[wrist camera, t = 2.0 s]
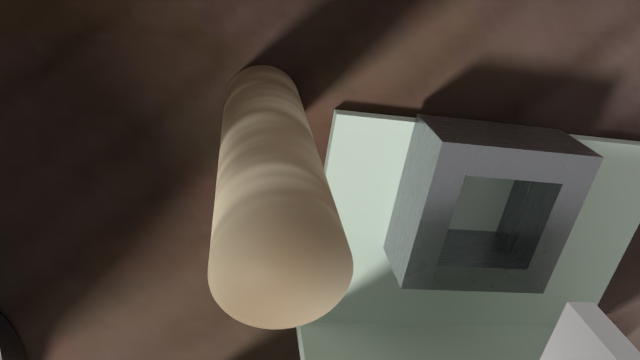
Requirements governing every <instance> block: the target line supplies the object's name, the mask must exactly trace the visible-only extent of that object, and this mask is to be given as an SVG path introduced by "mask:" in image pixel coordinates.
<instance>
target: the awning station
mask: <svg viewBox="0 0 640 360" xmlns="http://www.w3.org/2000/svg"><path fill="white" fill-rule="evenodd" d="M415 120H416V118H412V117H402V116H393V115H384V114H374V113H365V112H355V111H346V110H336V109H334V114H333V120H332V125H331V131H330V137H329V142H328V148H327V154H326V160H325V165H324V172H325V175H326V178H327V181H328V184H329V187H330V190H331V193H332V196H333V199H334V202H335V205H336V208H337V211H338V214H339V217H340V220H341V223H342V226H343V229H344V232H345V235H346V238H347V241H348V244H349V247H350V250H351V253H352V258H353V276H352V280H351V283H350V286H349V288H348V290H347V292H346V293H345V295H344V296H343V298H342V299H341V300H340V302H339V303H338V304H337V305H336V306H335V307H334V308H333V309H332V310H330V311H329V312H328V313H326V314H325V315H323V316H322V317H320V318H318V319H317V320H314V321H312V322H310V323H307V324H304V325H301V326H298V327H296V330H297V338H298V345H299V353H300V360H540V358H541V356H542V354H543V352H544V350H545V348H546V345H547V343H548V341H549V339H550V337H551V335H552V333H553V331H554V329H555V327H556V325H557V322H558V320H559V318H560V316H561V314H562V312H563V310H564V308H565V306H566V304H567V302H592V303H595V304H596V305H598V303H599V301H600V300H601V298H602V296H603V294H604V292H605V290H606V288H607V286H608V284H609V282H610V280H611V278H612V276H613V274H614V272H615V270H616V268H617V266H618V264H619V262H620V260H621V258H622V257H623V255H624V253H625V251H626V249H627V247H628V245H629V243H630V241H631V239H632V237H633V235H634V233H635V231H636V229H637V227H638V225H639V223H640V141H630V140H621V139H611V138H602V137H592V136H583V135H573V134H569V135H570V136H572V137H573V138H575V139H576V140H578V141H579V142H581V143H582V144H584V145H586V146H587V147H589V148H590V149H592V150H593V151H595V152H596V153H598V154H599V155H601V156H603V157H604V158H603V160H602V163H601V165H600V167H599V169H598V172H597V174H596V176H595V178H594V181H593V183H592V185H591V187H590V190H589V192H588V194H587V196H586V199H585V201H584V203H583V205H582V208H581V210H580V212H579V214H578V217H577V219H576V221H575V223H574V226H573V228H572V230H571V232H570V235H569V237H568V239H567V241H566V244H565V246H564V248H563V250H562V253H561V255H560V257H559V259H558V262H557V264H556V266H555V268H554V271H553V273H552V275H551V277H550V280H549V282H548V284H547V286H546V289H545V291H544V293H543V294H536V293H507V292H478V291H449V290H420V289H401V288H400V286H399V283H398V281H397V279H396V277H395V274H394V272H393V270H392V267H391V265H390V263H389V260H388V258H387V256H386V253H385V251H384V249H383V246H384V242H385V238H386V234H387V230H388V227H389V223H390V219H391V215H392V211H393V207H394V203H395V199H396V195H397V191H398V187H399V183H400V179H401V175H402V171H403V167H404V163H405V159H406V155H407V151H408V147H409V144H410V140H411V136H412V132H413V128H414V124H415ZM514 181H515V180H510V179H498V178H486V177H474V176H465V178H464V181H463V184H462V187H461V190H460V194H459V197H458V200H457V203H456V206H455V209H454V213H453V216H452V219H451V222H450V225H449V228H448V229H460V230H476V231H493V232H496V230H497V228H498V225H499V222H500V220H501V217H502V214H503V211H504V209H505V206H506V203H507V200H508V198H509V195H510V192H511V190H512V187H513V184H514Z"/></svg>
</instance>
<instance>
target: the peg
mask: <svg viewBox="0 0 640 360" xmlns="http://www.w3.org/2000/svg"><path fill="white" fill-rule="evenodd" d="M352 276H353V258H352V253H351V250H350V247H349V244H348V241H347V238H346V235H345V232H344V229H343V226H342V223H341V220H340V217H339V214H338V211H337V208H336V205H335V202H334V199H333V196H332V193H331V190H330V187H329V184H328V181H327V178H326V175H325V172H324V169H323V166H322V163H321V160H320V157H319V154H318V151H317V148H316V145H315V142H314V139H313V136H312V133H311V130H310V126H309V123H308V120H307V117H306V114H305V111H304V108H303V105H302V102H301V99H300V96H299V93H298V90H297V87H296V85H295V83H294V82H293V80H292V79H291V78H290V77H289V76H288V75H287V74H286V73H285V72H283V71H282V70H280V69H278V68H276V67H273V66H268V65H255V66H251V67H248V68H245V69H243V70H242V71H240V72H239V73H238V74H236V75H235V76H234V77H233V79H232V80H231V81H230V83H229V85H228V87H227V90H226V93H225V101H224V111H223V122H222V132H221V142H220V152H219V162H218V172H217V183H216V193H215V203H214V213H213V223H212V234H211V244H210V254H209V264H208V283H209V288H210V290H211V293H212V295H213V297H214V299H215V301H216V302H217V303H218V305H219V306H220V307H221V308H222V309H223V310H224V311H225V312H226V313H227V314H229V315H230V316H231V317H233V318H234V319H236V320H238V321H240V322H242V323H245V324H247V325H250V326H254V327H258V328H264V329H287V328H293V327H298V326H301V325H304V324H307V323H310V322H312V321H314V320H317V319H318V318H320V317H322V316H323V315H325V314H326V313H328V312H329V311H330V310H332V309H333V308H334V307H335V306H336V305H337V304H338V303H339V302H340V300H341V299H342V298H343V296H344V295H345V293H346V292H347V290H348V288H349V286H350V283H351V280H352Z"/></svg>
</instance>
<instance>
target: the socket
mask: <svg viewBox="0 0 640 360" xmlns="http://www.w3.org/2000/svg"><path fill="white" fill-rule="evenodd" d="M603 158H604V157H603V156H601V155H599V154H598V153H596V152H595V151H593V150H592V149H590V148H589V147H587V146H586V145H584V144H582V143H581V142H579V141H578V140H576V139H575V138H573V137H572V136H570V135H569V134H567V133H565V132H564V131H562V130H561V129H554V128H544V127H535V126H526V125H516V124H507V123H498V122H488V121H479V120H470V119H460V118H451V117H442V116H432V115H423V114H417V116H416V120H415V124H414V128H413V132H412V136H411V140H410V144H409V147H408V151H407V155H406V159H405V163H404V167H403V171H402V175H401V179H400V183H399V187H398V191H397V195H396V199H395V203H394V207H393V211H392V215H391V219H390V223H389V227H388V230H387V234H386V238H385V242H384V246H383V249H384V251H385V253H386V256H387V258H388V260H389V263H390V265H391V267H392V270H393V272H394V274H395V277H396V279H397V281H398V283H399V286H400V288H401V289H420V290H449V291H478V292H507V293H536V294H543V293H544V291H545V289H546V286H547V284H548V282H549V280H550V277H551V275H552V273H553V271H554V268H555V266H556V264H557V262H558V259H559V257H560V255H561V253H562V250H563V248H564V246H565V244H566V241H567V239H568V237H569V235H570V232H571V230H572V228H573V226H574V223H575V221H576V219H577V217H578V214H579V212H580V210H581V208H582V205H583V203H584V201H585V199H586V196H587V194H588V192H589V190H590V187H591V185H592V183H593V181H594V178H595V176H596V174H597V172H598V169H599V167H600V165H601V163H602V160H603ZM465 176H474V177H486V178H498V179H510V180H515V181H514V184H513V187H512V190H511V192H510V195H509V198H508V200H507V203H506V206H505V209H504V211H503V214H502V217H501V220H500V222H499V225H498V228H497V230H496V232H493V231H476V230H460V229H448V228H449V225H450V222H451V219H452V216H453V213H454V209H455V206H456V203H457V200H458V197H459V194H460V190H461V187H462V184H463V181H464V178H465Z"/></svg>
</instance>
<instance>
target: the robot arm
mask: <svg viewBox="0 0 640 360" xmlns="http://www.w3.org/2000/svg"><path fill="white" fill-rule="evenodd" d="M0 360H26V358H25V353H24V350H23V346H22V344H21V342H20V340H19V338H18V336H17V334H16V332H15V331H14V329H13V328H12V326H11V325H10V324H9V323H8V321H7V320H6V319H5V318H4V317H3V316H2V315H1V314H0ZM540 360H640V352H639V351H638V350H637V349H636V348H635V347H634V346H633V344H632V343H631V342H630V341H629V340H628V339H627V338H626V337H625V336H624V334H623V333H622V332H621V331H620V330H619V329H618V328H617V327H616V326H615V325H614V324H613V322H612V321H611V320H610V319H609V318H608V317H607V316H606V315H605V314H604V313H603V312H602V310H601V309H600V308H599V307H598V306H597V305H596V304H595V303H592V302H567V304H566V306H565V308H564V310H563V312H562V314H561V316H560V318H559V320H558V322H557V325H556V327H555V329H554V331H553V333H552V335H551V337H550V339H549V341H548V343H547V345H546V348H545V350H544V352H543V354H542V356H541V358H540Z"/></svg>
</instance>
